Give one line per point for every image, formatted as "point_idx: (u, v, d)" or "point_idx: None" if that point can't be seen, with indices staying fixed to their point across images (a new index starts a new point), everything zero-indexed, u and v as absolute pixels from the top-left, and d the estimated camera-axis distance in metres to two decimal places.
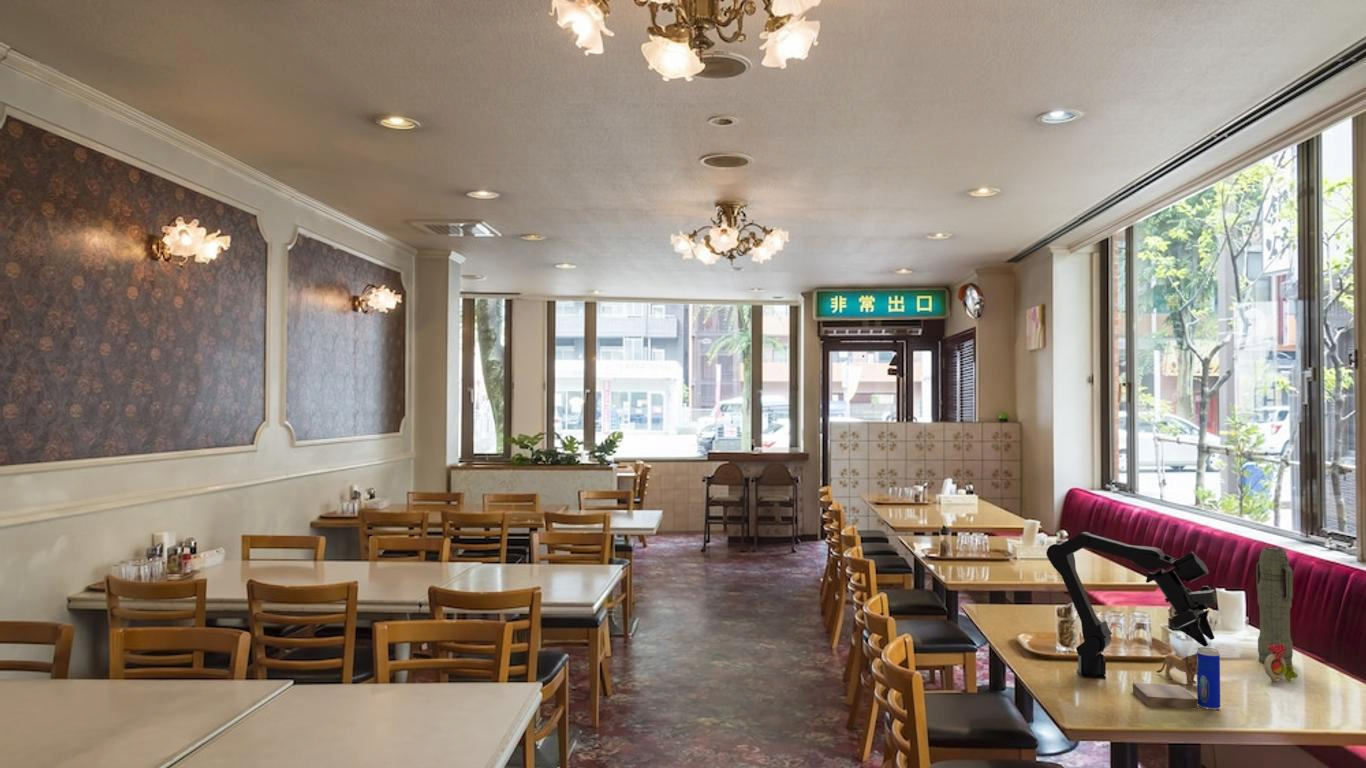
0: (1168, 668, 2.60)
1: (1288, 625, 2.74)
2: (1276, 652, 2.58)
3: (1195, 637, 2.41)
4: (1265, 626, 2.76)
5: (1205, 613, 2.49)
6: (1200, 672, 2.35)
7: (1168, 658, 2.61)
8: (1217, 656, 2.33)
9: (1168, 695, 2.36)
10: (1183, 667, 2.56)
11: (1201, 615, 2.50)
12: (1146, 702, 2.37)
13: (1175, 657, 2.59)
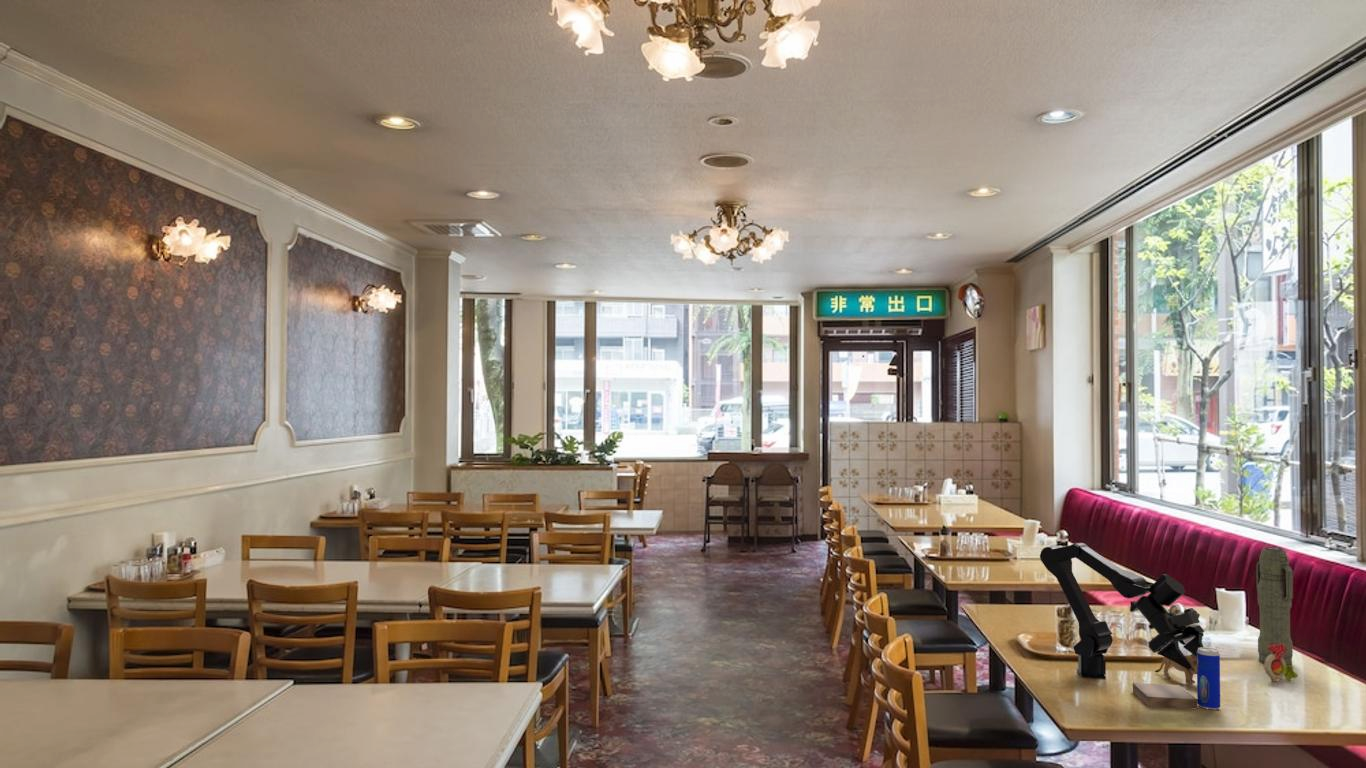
0: (1167, 668, 2.61)
1: (1288, 625, 2.74)
2: (1276, 652, 2.58)
3: (1177, 660, 2.36)
4: (1265, 626, 2.76)
5: (1197, 637, 2.43)
6: (1200, 672, 2.35)
7: None
8: (1217, 656, 2.33)
9: (1168, 695, 2.36)
10: (1182, 667, 2.56)
11: (1194, 639, 2.43)
12: (1146, 702, 2.37)
13: None
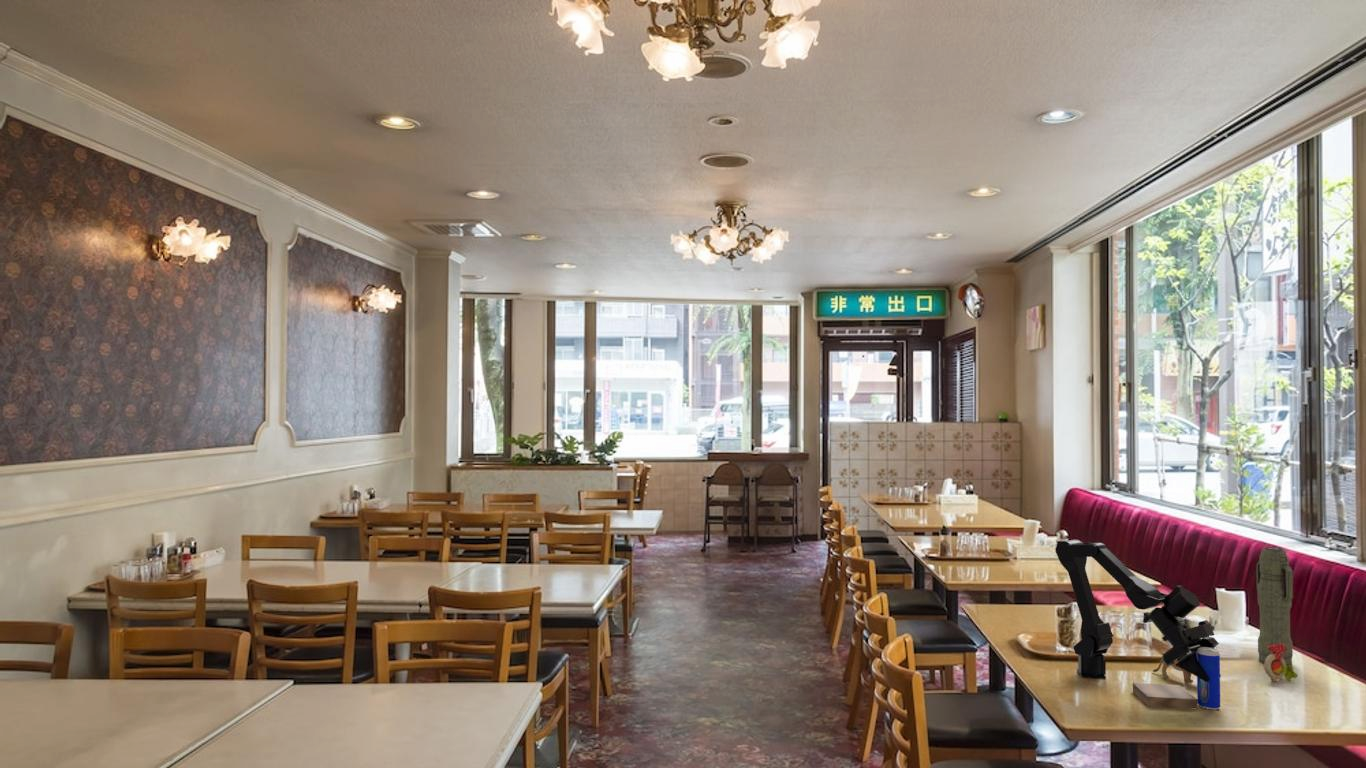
0: (1165, 667, 2.61)
1: (1288, 625, 2.74)
2: (1276, 652, 2.58)
3: (1195, 673, 2.34)
4: (1265, 626, 2.76)
5: None
6: None
7: None
8: (1217, 656, 2.33)
9: (1168, 695, 2.36)
10: None
11: None
12: (1146, 702, 2.37)
13: None
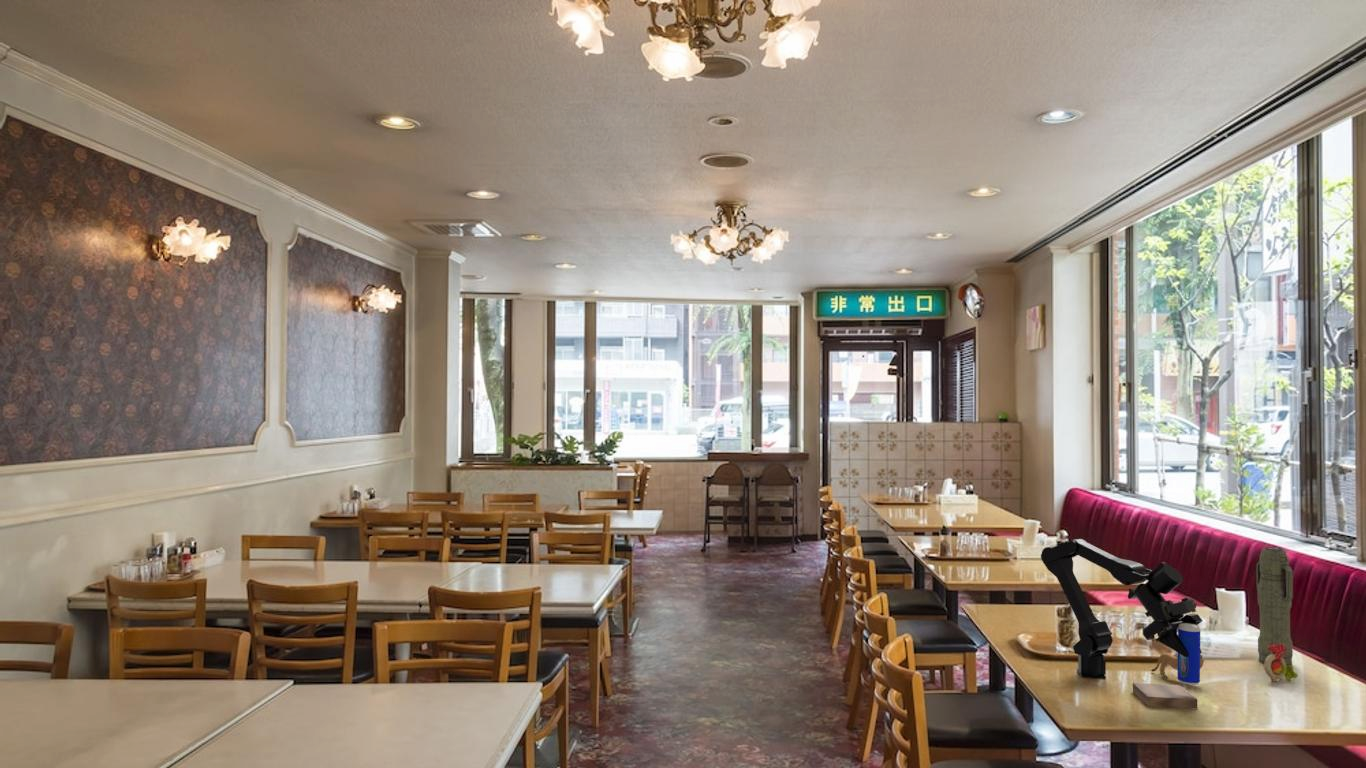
0: (1163, 667, 2.62)
1: (1288, 625, 2.74)
2: (1276, 652, 2.58)
3: (1175, 648, 2.37)
4: (1265, 626, 2.76)
5: None
6: None
7: (1163, 656, 2.62)
8: (1197, 632, 2.35)
9: (1168, 695, 2.36)
10: None
11: None
12: (1146, 702, 2.37)
13: (1170, 656, 2.61)
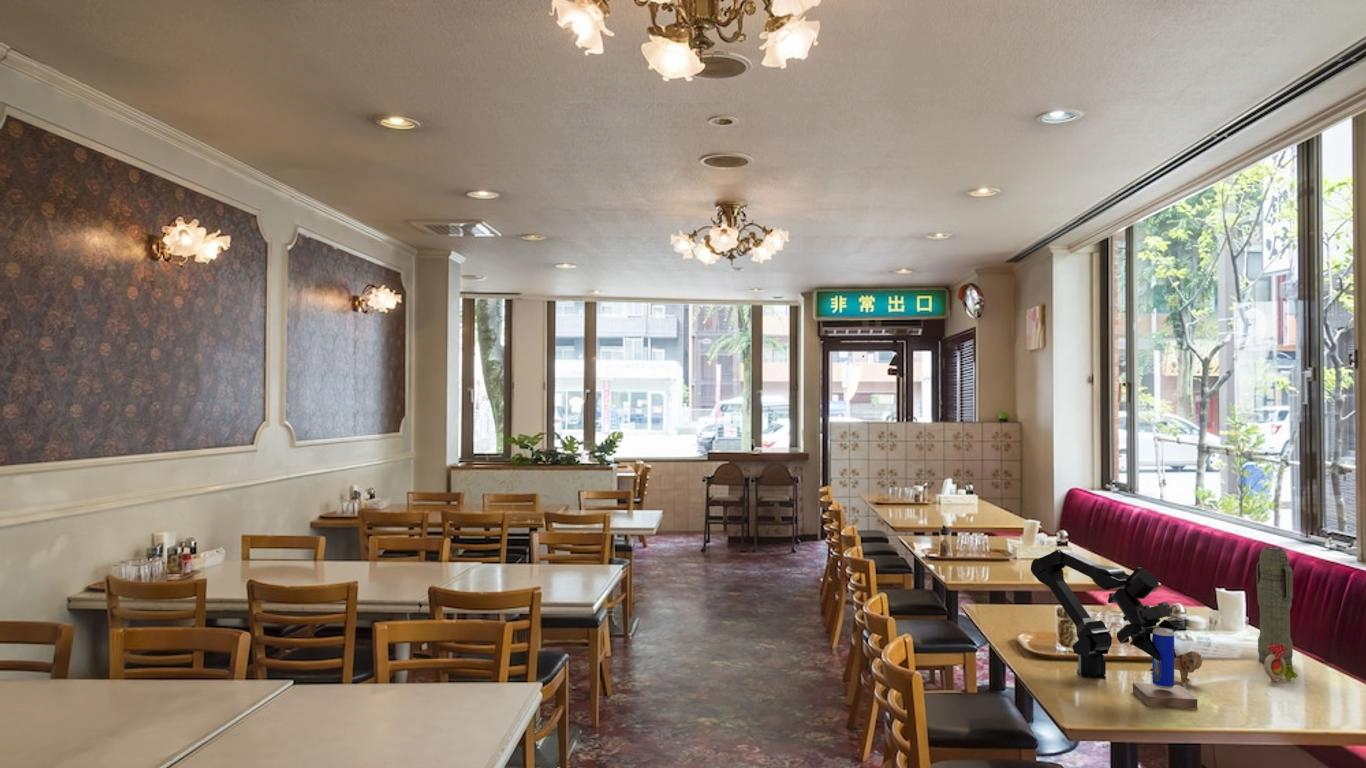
0: None
1: (1288, 625, 2.74)
2: (1276, 652, 2.58)
3: (1148, 651, 2.41)
4: (1265, 626, 2.76)
5: None
6: None
7: None
8: (1170, 636, 2.38)
9: (1168, 695, 2.36)
10: (1177, 665, 2.58)
11: None
12: (1146, 702, 2.37)
13: None
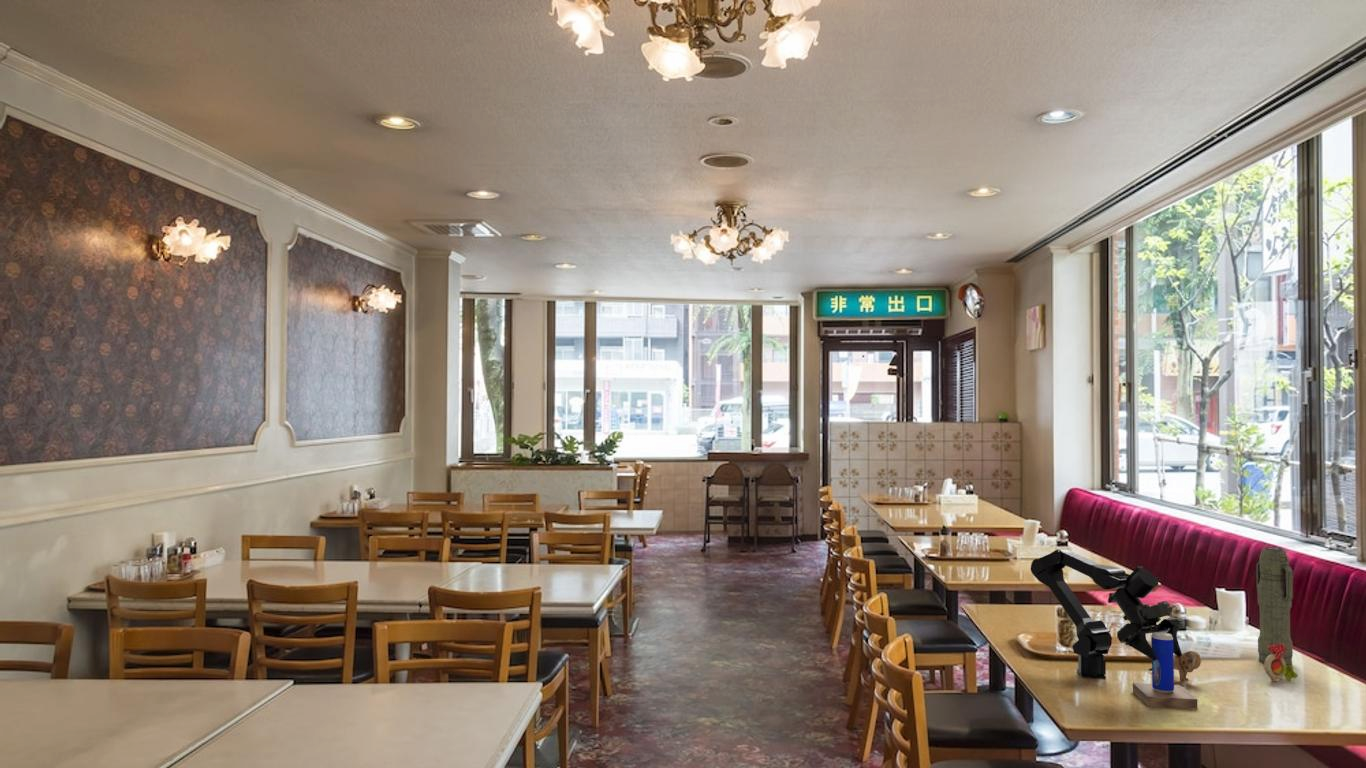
0: None
1: (1288, 625, 2.74)
2: (1276, 652, 2.58)
3: (1144, 651, 2.40)
4: (1265, 626, 2.76)
5: (1171, 630, 2.44)
6: None
7: None
8: (1169, 640, 2.39)
9: (1168, 695, 2.36)
10: (1176, 665, 2.58)
11: (1168, 632, 2.45)
12: (1146, 702, 2.37)
13: None
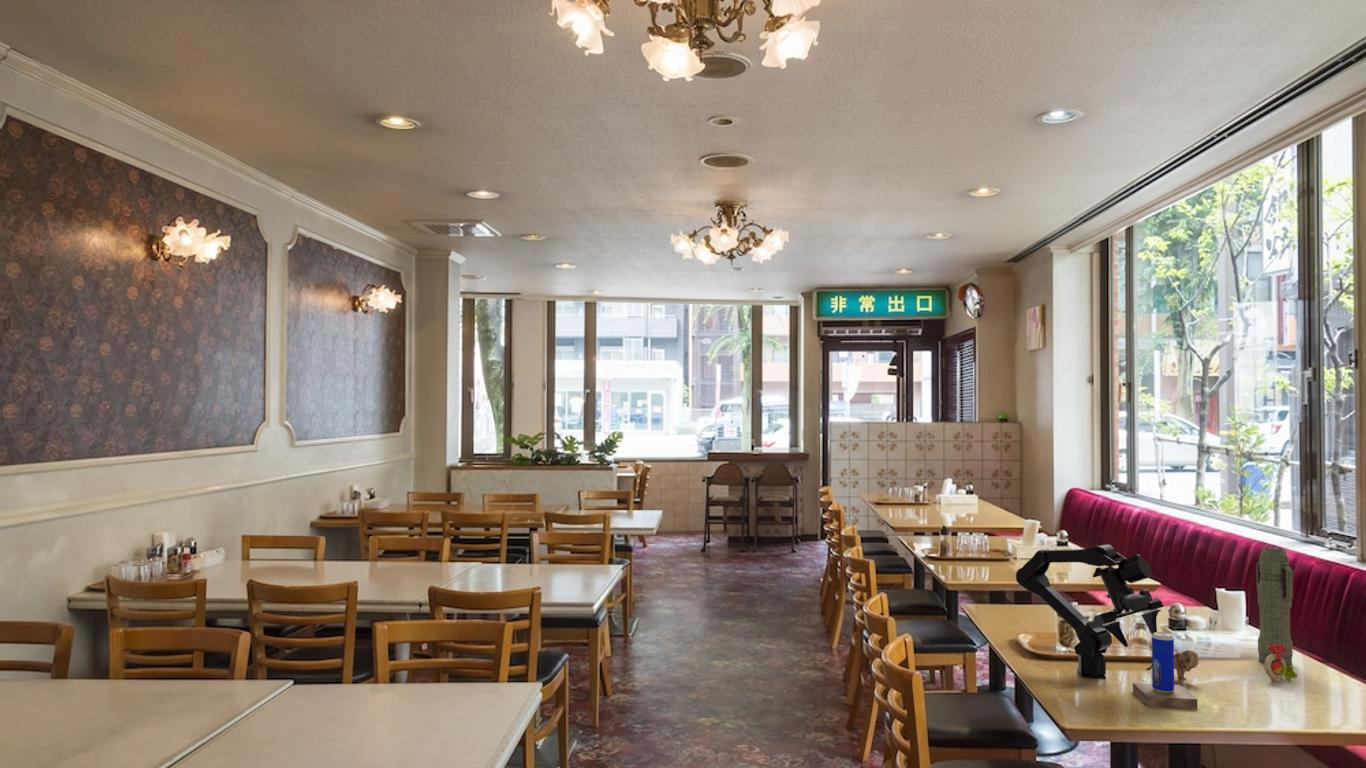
0: None
1: (1288, 625, 2.74)
2: (1276, 652, 2.58)
3: (1117, 637, 2.53)
4: (1265, 626, 2.76)
5: (1151, 613, 2.53)
6: (1153, 655, 2.41)
7: None
8: (1169, 640, 2.39)
9: (1168, 695, 2.36)
10: (1174, 664, 2.59)
11: (1149, 614, 2.54)
12: (1146, 702, 2.37)
13: None
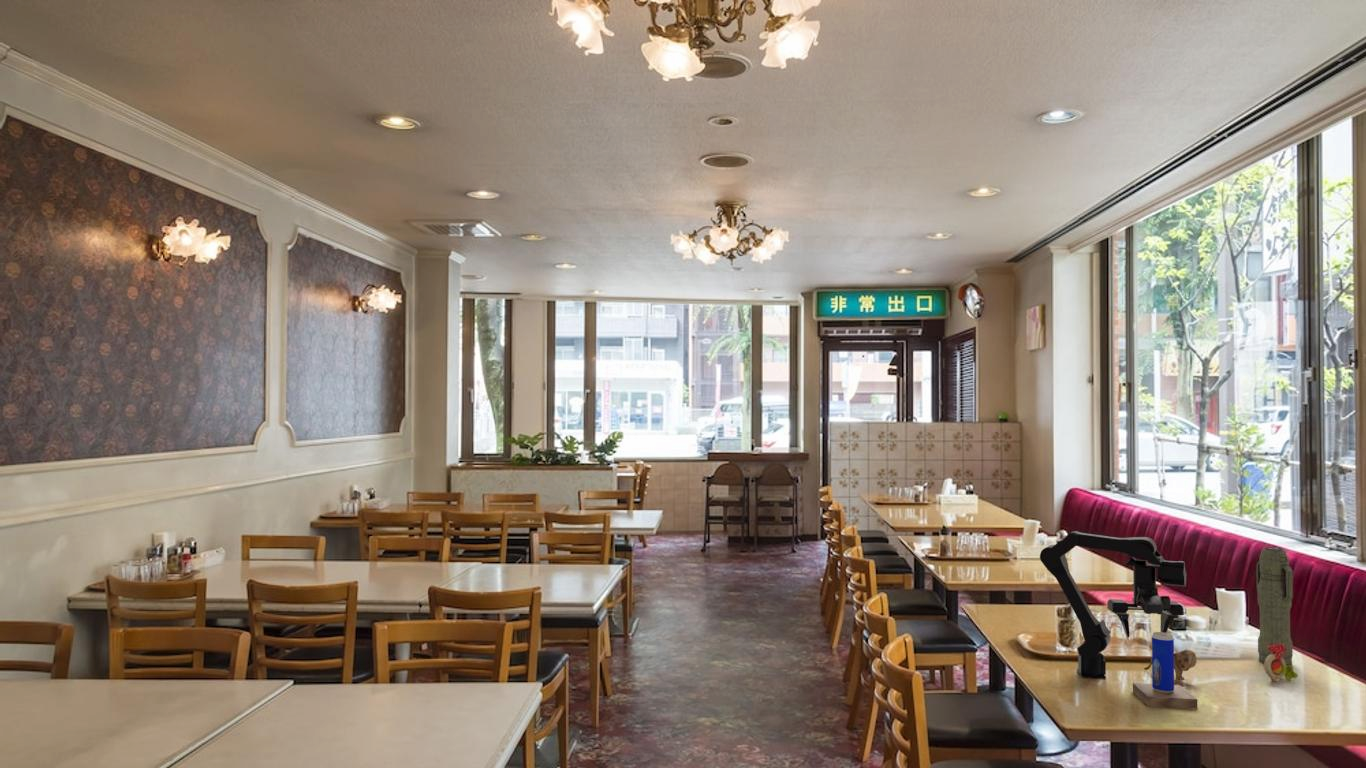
0: None
1: (1288, 625, 2.74)
2: (1276, 652, 2.58)
3: (1122, 625, 2.57)
4: (1265, 626, 2.76)
5: (1167, 616, 2.52)
6: (1153, 655, 2.41)
7: None
8: (1169, 640, 2.39)
9: (1168, 695, 2.36)
10: None
11: (1165, 615, 2.53)
12: (1146, 702, 2.37)
13: None
